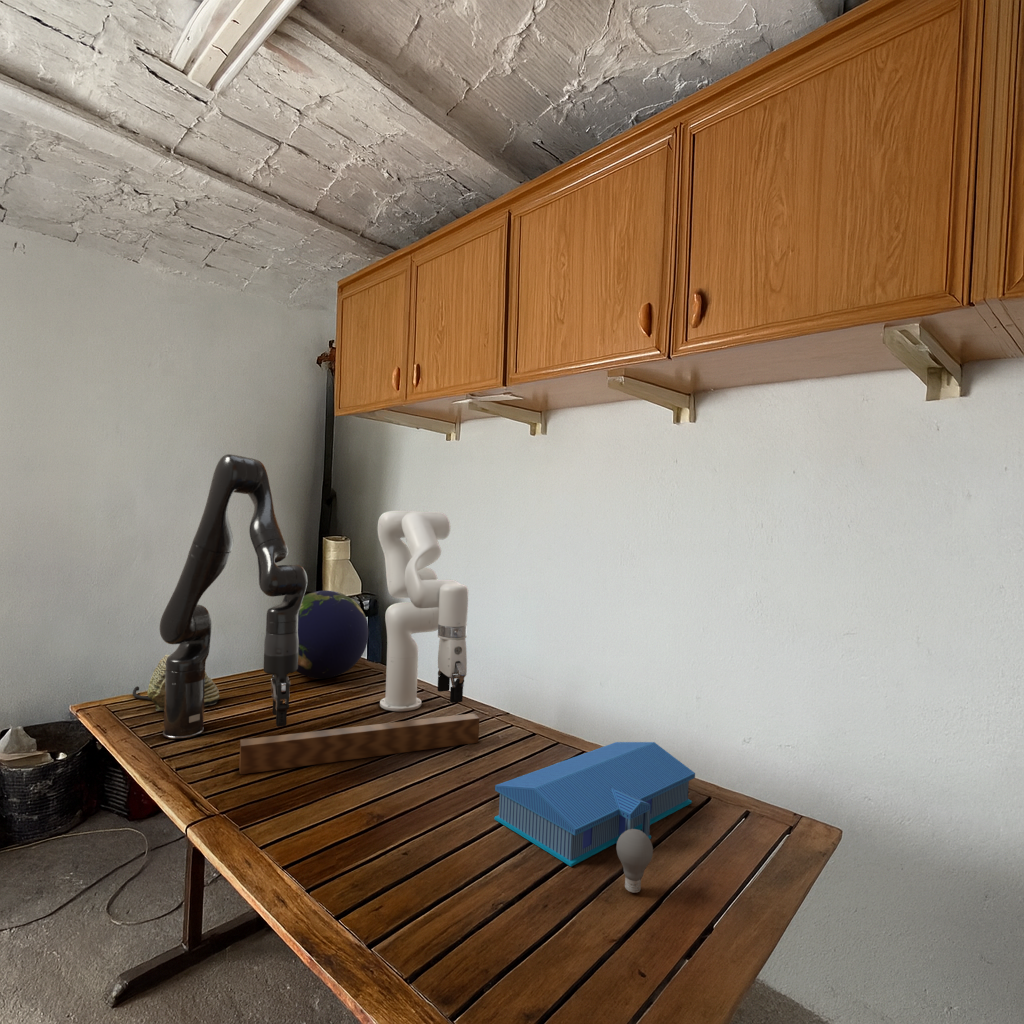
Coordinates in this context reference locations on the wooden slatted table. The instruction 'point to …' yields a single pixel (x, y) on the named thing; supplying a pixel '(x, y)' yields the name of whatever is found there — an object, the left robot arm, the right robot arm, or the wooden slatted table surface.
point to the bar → (355, 742)
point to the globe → (330, 634)
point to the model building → (594, 798)
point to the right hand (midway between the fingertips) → (449, 696)
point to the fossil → (158, 687)
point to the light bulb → (634, 857)
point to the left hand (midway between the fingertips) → (279, 719)
